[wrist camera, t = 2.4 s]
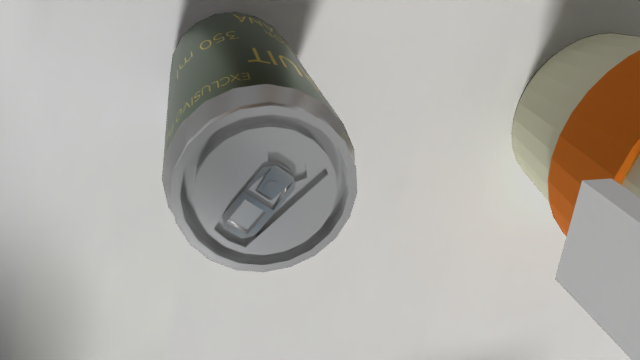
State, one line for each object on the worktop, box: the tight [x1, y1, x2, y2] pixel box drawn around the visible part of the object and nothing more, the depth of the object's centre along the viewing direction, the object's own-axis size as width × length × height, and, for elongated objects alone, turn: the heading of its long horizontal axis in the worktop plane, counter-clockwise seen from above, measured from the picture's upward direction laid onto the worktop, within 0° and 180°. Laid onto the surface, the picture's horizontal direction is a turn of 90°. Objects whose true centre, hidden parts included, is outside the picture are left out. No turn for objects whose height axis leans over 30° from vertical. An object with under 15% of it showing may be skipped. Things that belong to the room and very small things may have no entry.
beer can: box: [162, 12, 357, 272], centre depth 20 cm, size 5×5×12 cm
